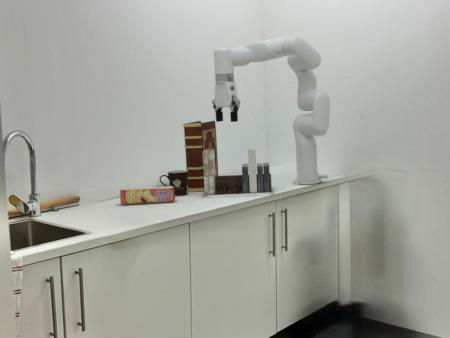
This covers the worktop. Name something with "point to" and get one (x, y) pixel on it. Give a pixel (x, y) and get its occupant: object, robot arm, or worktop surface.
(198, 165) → the decorative book
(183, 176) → the coffee mug
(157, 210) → the worktop surface
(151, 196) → the snack package
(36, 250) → the worktop surface
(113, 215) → the worktop surface
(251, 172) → the ivory book
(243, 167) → the book rack
